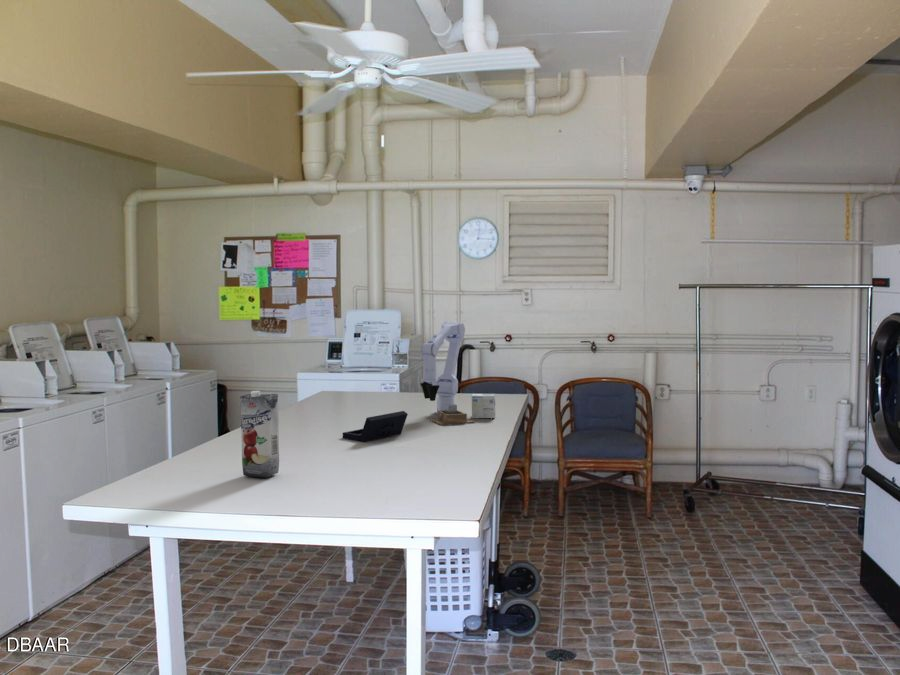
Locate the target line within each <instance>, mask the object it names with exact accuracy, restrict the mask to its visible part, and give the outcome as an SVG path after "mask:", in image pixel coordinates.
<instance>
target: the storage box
mask: <svg viewBox="0 0 900 675" xmlns="http://www.w3.org/2000/svg"><path fill="white" fill-rule="evenodd" d="M407 417H408V413H407V412H406V411H405V410H401V411H396V412H391V413H385V414H379V415H374V416H367V417H366V419H365V421H364V424H363V427H362V428H360V429H355V430H350V431H344V432H342V439H346V440H348V441H349V440H350V441H355V442H363V443H367V442H372V441H377V440H380V439H384V438H390V437H394V436H397V435H401V434H402V432H403V430H404V429H403V428H404V426H405V424H406V420H407Z"/></svg>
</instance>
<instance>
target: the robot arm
mask: <svg viewBox="0 0 900 675" xmlns="http://www.w3.org/2000/svg"><path fill="white" fill-rule="evenodd" d="M465 333H466V327H465V325H464V323H463V322H462V321H459V322H455V321H454V322H451V321H450V322H448V321H443V323H442V324H441V329H440V331H439V332H438V334H437V333H435V334H433V336H432V337H431V338H430V339H429V340H428V341H427V342H424V343H422V344H421V347H420V354H421V359H422V370H423V372H422V373H423V374H422V375H423V377H422V379H420V381H421V382H420V383H419V385H420V387H421V390H422V392H423V397H424V399H425V400H426V399H429V401H430V402H434V401H436V411H434V413H436V414H437V415H438V411H441V410H446V408H445V404H455V396H456V395H457V393H458V392H459V380H458V378H457V377H456V376H455V373H456V372H455V371H456V368H457V362H458V358H459V353H460V348H461V343H462V342H463V341H464V338H465ZM444 340H445V341H447V342H448V343H449V345H448V350H447V355H446V360H445V363H444V364H445V365H444V369H443V374H441V375H440V376H438V377H437V356H438V354H439V351H440V348H441V346H443V345H444V342H445V341H444Z"/></svg>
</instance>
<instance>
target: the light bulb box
mask: <svg viewBox="0 0 900 675" xmlns="http://www.w3.org/2000/svg"><path fill="white" fill-rule="evenodd" d="M472 418H491V419H490V420H493V419H492V418H496V393H472V395H471V419H472Z"/></svg>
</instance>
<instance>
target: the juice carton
mask: <svg viewBox="0 0 900 675" xmlns="http://www.w3.org/2000/svg"><path fill="white" fill-rule="evenodd" d="M239 398H240V422H241V424H240V430H241V431H240V432H241V433H240V434H241V464H242V473H243V476H244V477H256V478H264V479H265V478H268V477H272V476H273V475H277V474H278V473H279V468H280V436H279V435H280V434H279V428H280V427H279V394H277V393H269V394H268V393H261V391H260V390H252V391H250V393H247V394H243V395H240V397H239Z"/></svg>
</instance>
